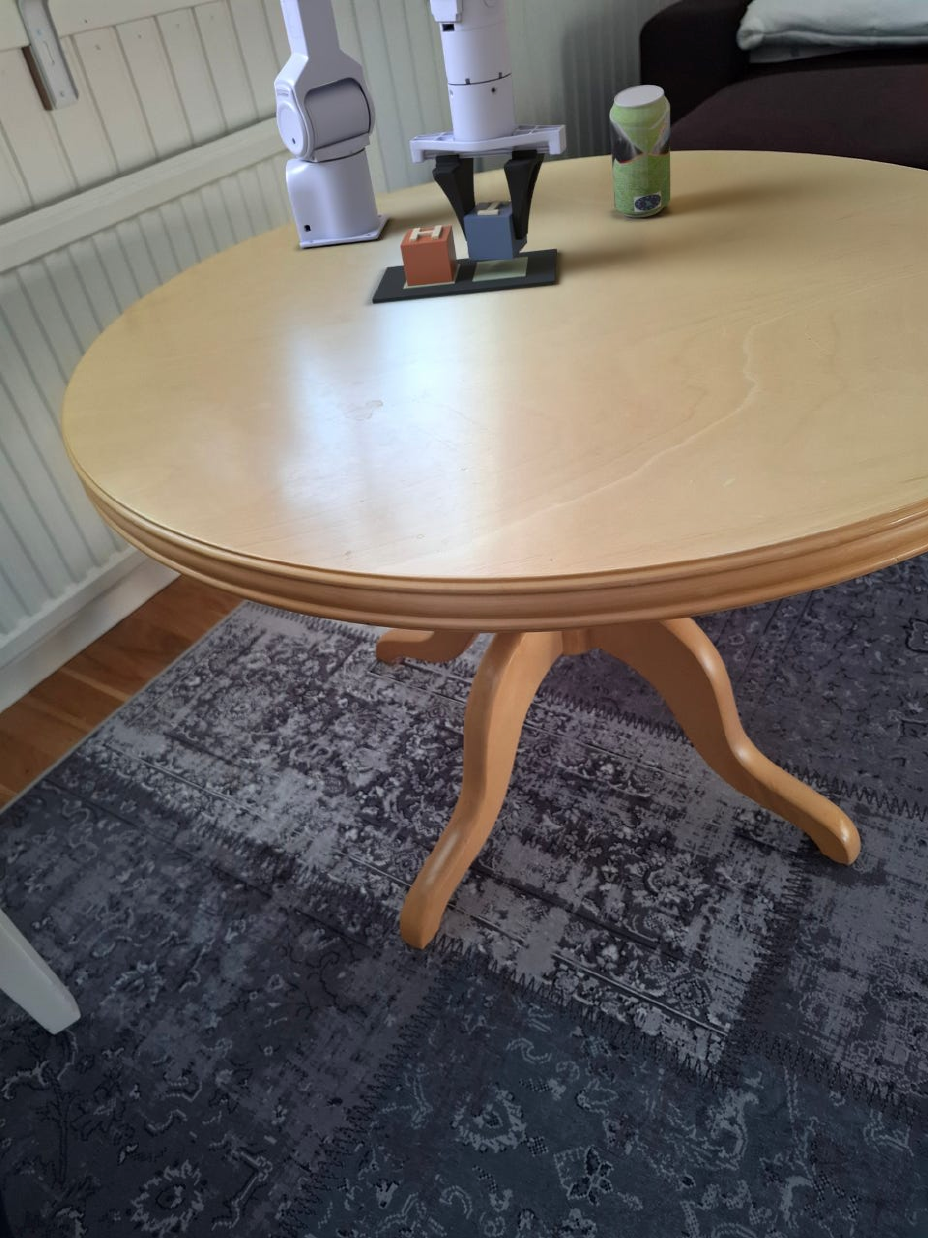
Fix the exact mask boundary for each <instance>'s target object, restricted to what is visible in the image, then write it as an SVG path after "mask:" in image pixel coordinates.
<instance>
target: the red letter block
mask: <svg viewBox="0 0 928 1238" xmlns="http://www.w3.org/2000/svg"><path fill="white" fill-rule="evenodd" d="M456 250H457V249H456V245H455V238H454V230H453V225H452V224H450V225H449V224H448V225H441V224H440V225H435V226H431V227H424V228H421V227H415V228H413V229H408V230H406V233H405V234H404V236H403V239H402V241H401V243H400V252H401V258H402V264H403V265H404V269H405V275H406V280H407V286H416V285H426V284H435V283H445V282H453V279H454V275H455V272H456V269H457V265H458V264H457V259H458V257H457V251H456Z"/></svg>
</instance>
